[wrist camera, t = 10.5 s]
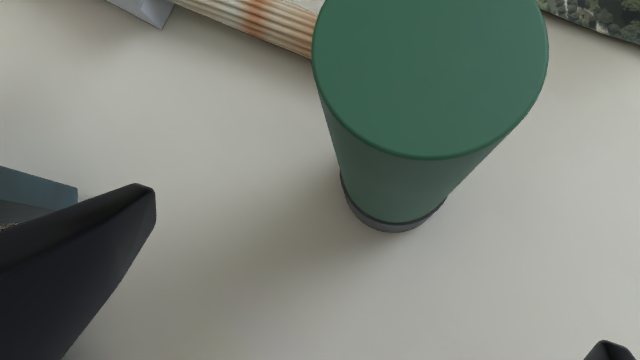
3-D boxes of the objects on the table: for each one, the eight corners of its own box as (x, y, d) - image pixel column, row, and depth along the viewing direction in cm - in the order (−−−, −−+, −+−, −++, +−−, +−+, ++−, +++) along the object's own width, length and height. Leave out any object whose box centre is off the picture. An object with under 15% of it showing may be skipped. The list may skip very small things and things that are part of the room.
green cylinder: (448, 226, 20) (579, 150, 8) (349, 237, 21) (316, 180, 8) (434, 130, 21) (532, -83, 8) (339, 142, 22) (294, -47, 9)
